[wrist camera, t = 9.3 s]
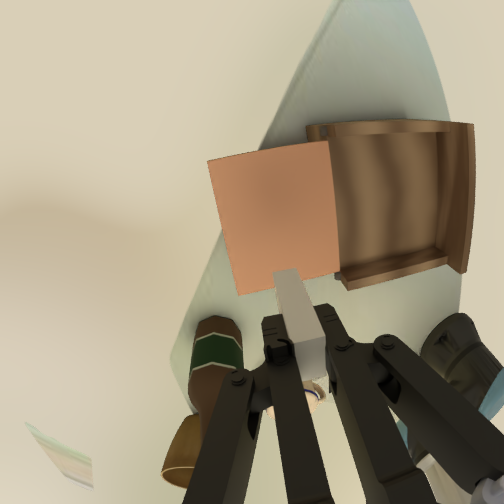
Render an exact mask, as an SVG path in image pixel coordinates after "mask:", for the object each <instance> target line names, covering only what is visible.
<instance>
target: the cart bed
mask: <svg viewBox="0 0 504 504" xmlns="http://www.w3.org/2000/svg"><path fill="white" fill-rule="evenodd" d="M306 132H307V138H308V142H315V141H323V140H325V141H328V145H329V153H330V160H331V168H332V177H333V186H334V195H335V206H336V217H337V230H338V244H339V262H340V271H339V272H335V273H334V277H335V279H336V280H341V281H342V283H343V284H344V286H345V287H346V289H347V291H350V290H354V289H358V288H362V287H366V286H370V285H374V284H378V283H381V282H385V281H389V280H393V279H397V278H400V277H404V276H407V275H411V274H415V273H418V272H422V271H425V270H428V269H432V268H435V267H439V266H442V265H445V264H448V265H449V266H450V267H451V268H453V269H454V270H455V271H456V272H458V273H459V274H463V273H466V271H467V265H468V259H469V253H470V246H471V238H472V229H473V219H474V205H475V183H476V164H475V163H476V158H475V135H474V124H470V123H460V122H450V121H436V120H418V119H388V120H365V121H350V122H337V123H326V124H317V125H308V126H306Z"/></svg>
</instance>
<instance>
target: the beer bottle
mask: <svg viewBox="0 0 504 504" xmlns="http://www.w3.org/2000/svg"><path fill="white" fill-rule="evenodd" d="M239 368H242V369H244V362H243V347H242V337H241V332H240V331H239V329H238V328H237V326H236V325H235V323H234V322H233V321H232V320H230V319H226V318H222V317H218V316H213V317H211V318H208V319H206V320H204V321H201V322H199V325H198V328H197V331H196V334H195V338H194V343H193V350H192V357H191V365H190V373H189V382H188V395H189V398H190V400H191V403H192V404H193V406H194V407H195V408H196V409H197V411H198V412H199V419H200V440H201V446H202V443H203V440H204V437H205V434H206V431H207V428H208V425H209V422H210V419H211V416H212V413H213V410H214V407H215V404H216V400H217V397H218V394H219V391H220V388H221V385H222V382H223V379H224V377H225V375H226V374H227V373H228V372H230V371H232V370H234V369H239Z"/></svg>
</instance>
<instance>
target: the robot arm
mask: <svg viewBox="0 0 504 504" xmlns="http://www.w3.org/2000/svg"><path fill="white" fill-rule="evenodd" d="M272 274H273V280H274V286H275V292H276V297H277V303H278V309H279V313H280V314H277V315H272V316H267V317H264V318H263V321H262V323H261V326H262V333H263V339H264V354H265V361H264V363H263V364H262V365H261V366H260V367H258V368H256V369H254V370H252V371H249V370H247V369H242V368H239V369H234V370H232V371H230V372H228V373H227V374H226V375H225V377H224V379H223V382H222V385H221V388H220V391H219V394H218V397H217V400H216V404H215V407H214V410H213V413H212V416H211V419H210V422H209V425H208V428H207V431H206V434H205V437H204V440H203V443H202V446H201V449H200V452H199V455H198V458H197V461H196V464H195V467H194V470H193V473H192V476H191V479H190V482H189V485H188V488H187V491H186V494H185V497H184V500H183V503H182V504H244V500H245V496H246V491H247V487H248V482H249V477H250V473H251V468H252V463H253V459H254V454H255V449H256V444H257V439H258V434H259V429H260V423H261V418H262V413H263V410H265V409H267V408H269V407H271V406H273V409H274V415H275V421H276V428H277V435H278V441H279V448H280V454H281V460H282V467H283V473H284V479H285V486H286V492H287V499H288V504H335V502H334V500H333V498H332V495H331V492H330V488H329V484H328V480H327V476H326V472H325V468H324V464H323V460H322V456H321V452H320V448H319V444H318V440H317V436H316V432H315V429H314V425H313V421H312V417H311V413H310V409H309V405H308V402H307V398H306V394H305V390H304V386H303V383H302V382H303V381H307V380H312V379H316V378H320V377H324V376H327V373H328V376H329V393H331V391H332V394H333V397H334V400H335V403H336V406H337V409H338V412H339V415H340V418H341V421H342V424H343V427H344V430H345V433H346V436H347V439H348V443H349V446H350V449H351V452H352V455H353V458H354V461H355V465H356V468H357V471H358V474H359V478H360V481H361V484H362V488H363V491H364V494H365V497H366V504H504V435H503V434H502V433H501V432H500V431H499V430H498V429H497V428H496V427H495V426H494V425H493V424H492V423H491V422H490V420H491V419H492V418H493V417H494V416H495V415H496V414H497V413H498V411H499V410H500V409H501V408H502V406H503V405H504V367H503V366H502V365H501V364H500V363H499V361H498V360H497V359H496V358H495V356H494V355H493V354H492V353H491V352H490V351H489V350H488V348H486V346H485V345H484V344H483V343H482V342H481V340H480V337H479V335H478V332H477V330H476V328H475V325H474V322H473V321H472V319H471V318H470V317H469V316H468V315H467V314H465V313H457V314H454V315H452V316H450V317H448V318H447V319H445V320H444V321H443V322H441V323H440V324H439V325H438V326H437V327H436V328H435V329H434V330H433V331H432V332H431V334H430V335H429V336H428V338H427V339H426V341H425V343H424V345H423V347H422V350H421V358H420V357H419V356H418V355H417V354H416V353H415V352H414V351H413V350H411V349H410V348H409V347H408V346H407V345H406V344H405V343H403V342H402V341H401V340H400V339H399V338H398V337H396V336H394V335H390V334H384V335H381V336H379V337H377V338H376V339H375V341H374V343H358V342H356V341H355V340H354V339H353V338H351V337H349V336H348V334H347V332H346V330H345V328H344V326H343V324H342V322H341V320H340V319H339V317H338V315H337V313H336V311H335V309H334V307H332V306H331V305H329V304H328V303H326V304H321V305H317V306H313V305H312V303H311V301H310V298H309V296H308V294H307V291H306V289H305V287H304V284H303V282H302V280H301V278H300V275H299V273H298V271H297V269H296V268H292V269H287V270H282V271H277V272H272ZM326 370H327V372H326ZM388 406H389V407H390V408H391V409H392V411H393V412H394V413H395V414H396V415H397V416H398V418H399V419H400V420H399V421H398V422H397V423H396V422H395V420H394V418H393V416H392V414H391V412H390V410H389V407H388ZM425 473H426V475H427V477H428V479H429V482H430V484H431V486H430V484H429V482H428V480H427V477H426V475H425ZM431 487H432V489H433V491H432V489H431ZM433 492H434V494H433ZM434 495H435V496H434ZM435 497H436V499H437V501H436V499H435Z"/></svg>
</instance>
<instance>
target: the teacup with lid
mask: <svg viewBox="0 0 504 504" xmlns="http://www.w3.org/2000/svg"><path fill="white" fill-rule="evenodd" d="M302 383H303V386H304V390H305V394H306V398H307V402H308V405H309V409H310V413H312V412H313V411H315V409H316V408H317V405H318V404H321V403H323V402H324V401H325V399H326V394H325V392H324V390H323V389H322V388H321V387H320V386H319V385H317V384H315V383H313V382H312V380H307V381H303V382H302ZM315 390H316V391H317V392H318V394H319V395H320V398H321V399H318V396H317V394H316V393H315ZM265 410H266V412H267V414H268V415H269V416H270V417H271V418H273V419H274V420H275V415H274V409H273V406H271V407H269V408H267V409H265Z"/></svg>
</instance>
